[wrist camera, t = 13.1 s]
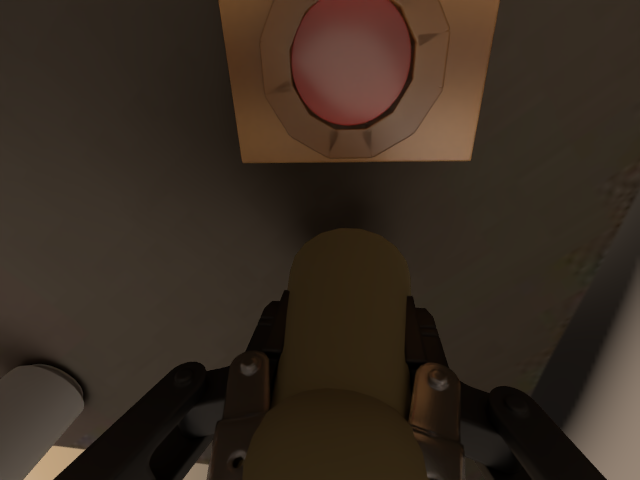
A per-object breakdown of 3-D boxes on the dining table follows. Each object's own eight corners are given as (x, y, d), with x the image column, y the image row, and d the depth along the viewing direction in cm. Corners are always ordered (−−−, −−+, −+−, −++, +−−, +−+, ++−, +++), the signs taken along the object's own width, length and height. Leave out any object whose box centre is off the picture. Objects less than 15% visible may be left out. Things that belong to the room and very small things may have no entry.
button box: (455, 150, 16) (485, 171, 12) (257, 153, 18) (227, 172, 14) (485, -44, 13) (541, -103, 9) (236, -22, 14) (187, -64, 10)
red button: (400, 119, 12) (405, 124, 11) (302, 122, 13) (295, 127, 11) (409, -4, 11) (418, -19, 9) (296, 5, 11) (285, -9, 10)
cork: (436, 263, 14) (593, 635, 5) (370, 344, 17) (382, 686, 7) (321, 205, 14) (225, 493, 4) (272, 298, 16) (143, 605, 7)
